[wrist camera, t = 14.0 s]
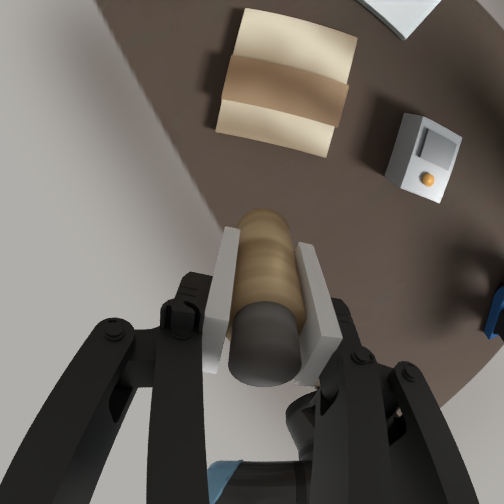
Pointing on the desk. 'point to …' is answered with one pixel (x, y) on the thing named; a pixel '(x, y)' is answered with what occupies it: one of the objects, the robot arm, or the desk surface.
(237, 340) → the peg
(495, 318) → the handheld scanner
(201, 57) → the desk surface
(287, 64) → the panel
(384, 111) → the desk surface
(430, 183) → the box
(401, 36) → the external hard drive
